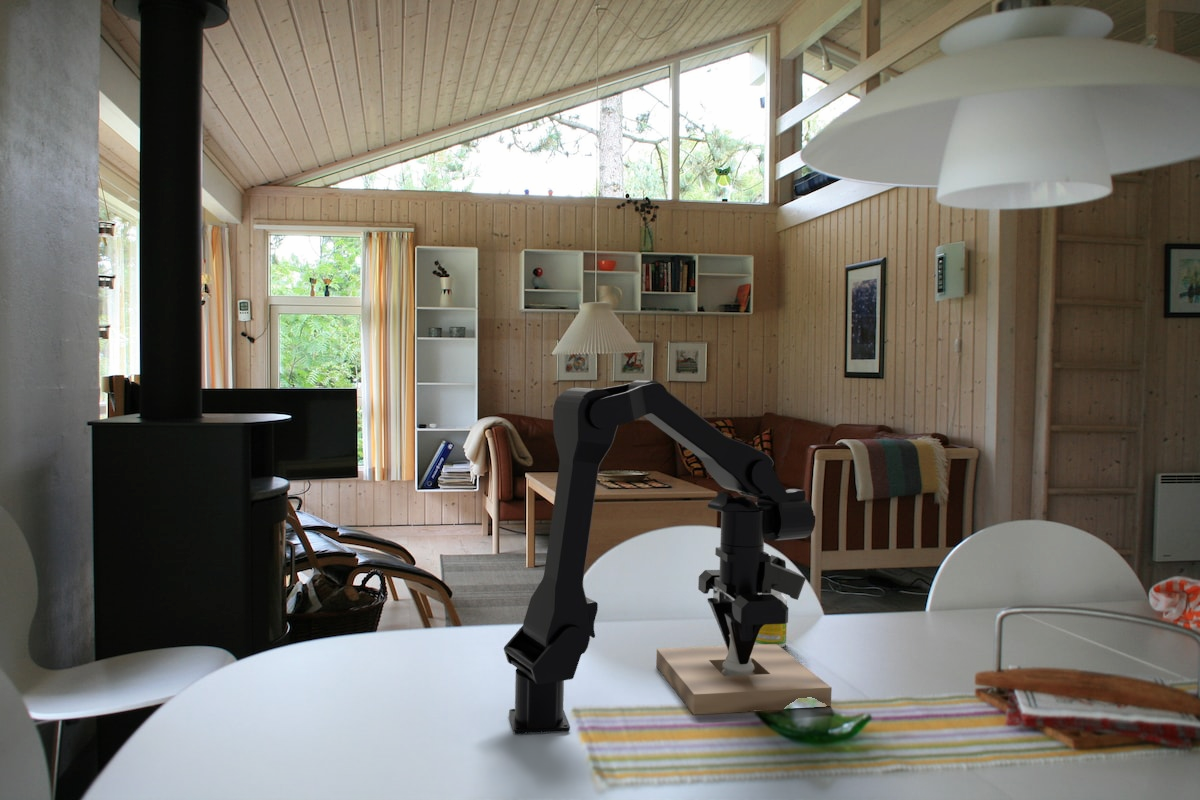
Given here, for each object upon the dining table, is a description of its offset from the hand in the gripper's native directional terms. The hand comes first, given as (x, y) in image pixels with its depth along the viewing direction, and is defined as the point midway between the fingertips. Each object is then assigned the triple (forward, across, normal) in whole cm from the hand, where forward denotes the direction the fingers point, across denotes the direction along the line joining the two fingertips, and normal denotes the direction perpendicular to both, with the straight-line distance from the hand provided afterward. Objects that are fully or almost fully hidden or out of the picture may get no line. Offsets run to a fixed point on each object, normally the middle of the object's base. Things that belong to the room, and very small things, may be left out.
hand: (738, 659), depth 119 cm
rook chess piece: (+3, 0, 0) cm, 3 cm away
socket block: (+4, 0, 0) cm, 4 cm away
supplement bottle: (+4, +17, -11) cm, 21 cm away
